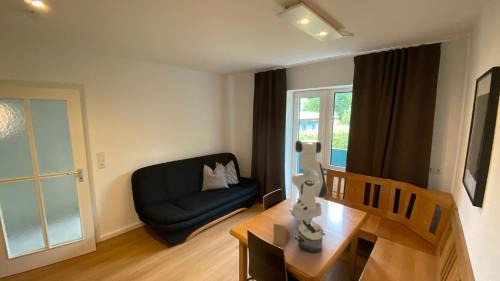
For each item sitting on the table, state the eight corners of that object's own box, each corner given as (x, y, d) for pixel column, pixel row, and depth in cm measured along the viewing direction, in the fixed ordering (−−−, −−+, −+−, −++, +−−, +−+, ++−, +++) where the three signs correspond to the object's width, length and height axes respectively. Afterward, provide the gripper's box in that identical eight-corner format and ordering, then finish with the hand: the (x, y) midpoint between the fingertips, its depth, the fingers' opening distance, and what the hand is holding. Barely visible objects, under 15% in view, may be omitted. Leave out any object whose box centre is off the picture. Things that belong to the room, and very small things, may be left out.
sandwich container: (291, 235, 159) (292, 217, 158) (284, 246, 146) (285, 226, 144) (280, 233, 163) (281, 214, 162) (273, 243, 150) (273, 223, 148)
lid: (293, 224, 148) (294, 221, 147) (312, 219, 155) (313, 216, 154) (309, 244, 134) (310, 241, 133) (328, 237, 141) (329, 234, 140)
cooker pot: (290, 243, 149) (290, 232, 148) (314, 236, 158) (314, 225, 157) (305, 257, 135) (305, 244, 134) (330, 248, 144) (330, 236, 143)
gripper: (317, 200, 152) (316, 218, 153) (294, 205, 143) (293, 224, 145) (323, 203, 146) (323, 222, 147) (300, 209, 137) (299, 229, 139)
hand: (308, 223), depth 146 cm, fingers closed, pressing on lid
